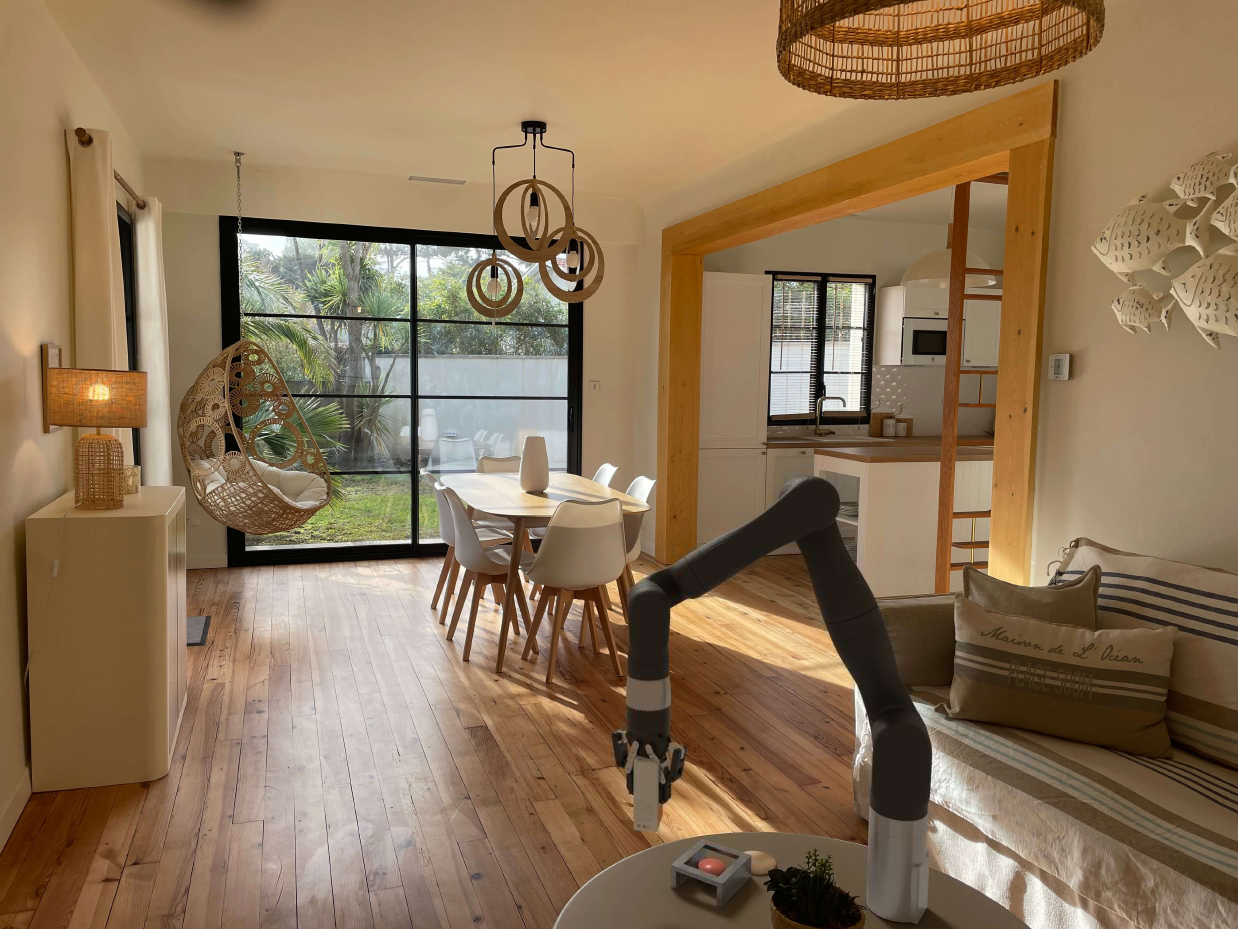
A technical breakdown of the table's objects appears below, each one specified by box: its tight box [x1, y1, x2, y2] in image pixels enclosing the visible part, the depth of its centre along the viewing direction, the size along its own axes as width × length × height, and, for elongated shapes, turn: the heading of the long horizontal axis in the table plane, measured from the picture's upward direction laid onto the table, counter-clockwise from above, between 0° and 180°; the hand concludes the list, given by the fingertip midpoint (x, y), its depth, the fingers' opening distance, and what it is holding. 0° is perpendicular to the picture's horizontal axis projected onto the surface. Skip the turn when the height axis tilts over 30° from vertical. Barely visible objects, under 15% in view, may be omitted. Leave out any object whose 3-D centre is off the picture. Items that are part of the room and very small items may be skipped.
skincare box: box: [632, 755, 664, 833], centre depth 148 cm, size 6×4×12 cm
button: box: [696, 857, 727, 877], centre depth 154 cm, size 6×6×1 cm
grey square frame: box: [670, 838, 752, 907], centre depth 154 cm, size 10×11×4 cm
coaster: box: [742, 850, 777, 876], centre depth 160 cm, size 7×7×1 cm
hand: (648, 797), depth 148 cm, fingers closed on skincare box, 5 cm apart
